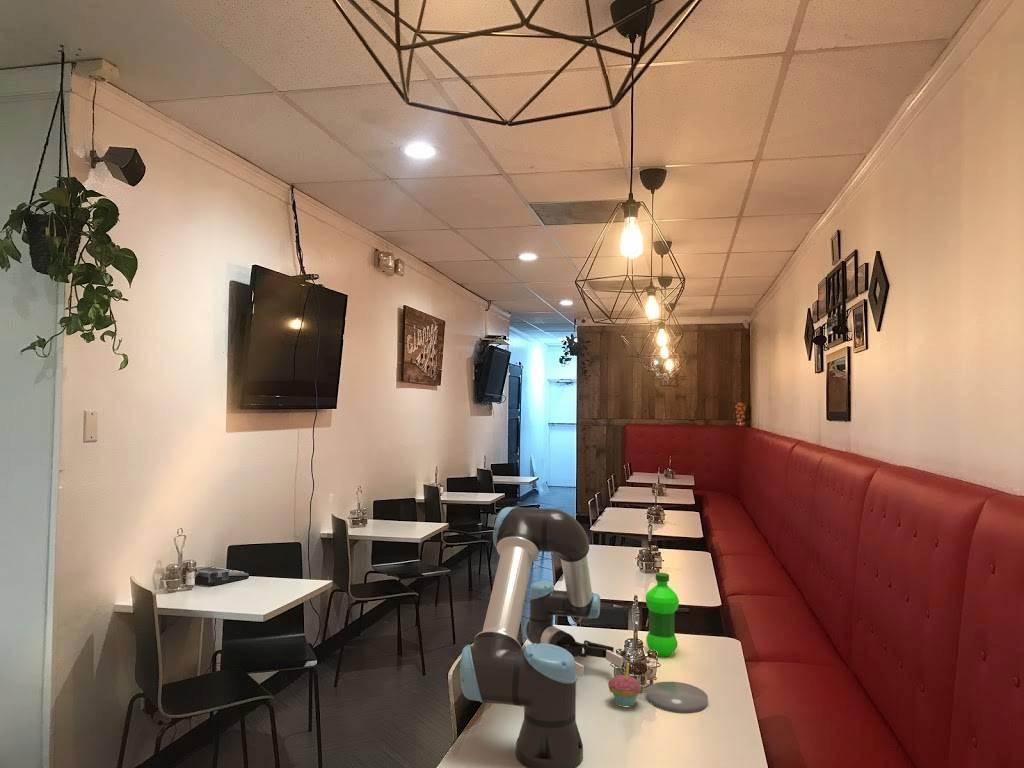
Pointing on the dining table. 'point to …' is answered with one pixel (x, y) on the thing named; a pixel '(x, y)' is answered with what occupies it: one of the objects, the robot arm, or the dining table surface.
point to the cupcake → (624, 688)
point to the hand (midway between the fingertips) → (602, 666)
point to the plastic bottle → (662, 616)
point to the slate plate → (677, 697)
